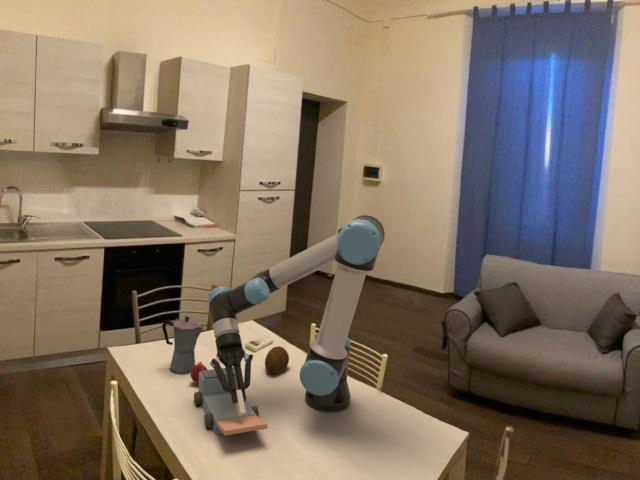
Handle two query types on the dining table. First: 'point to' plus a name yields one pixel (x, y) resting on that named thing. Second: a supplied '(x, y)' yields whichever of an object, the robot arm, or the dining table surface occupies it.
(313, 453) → the dining table surface
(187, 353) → the moka pot
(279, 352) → the potato
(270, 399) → the dining table surface
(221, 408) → the pickup bed
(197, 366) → the red rounded piece
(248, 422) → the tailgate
